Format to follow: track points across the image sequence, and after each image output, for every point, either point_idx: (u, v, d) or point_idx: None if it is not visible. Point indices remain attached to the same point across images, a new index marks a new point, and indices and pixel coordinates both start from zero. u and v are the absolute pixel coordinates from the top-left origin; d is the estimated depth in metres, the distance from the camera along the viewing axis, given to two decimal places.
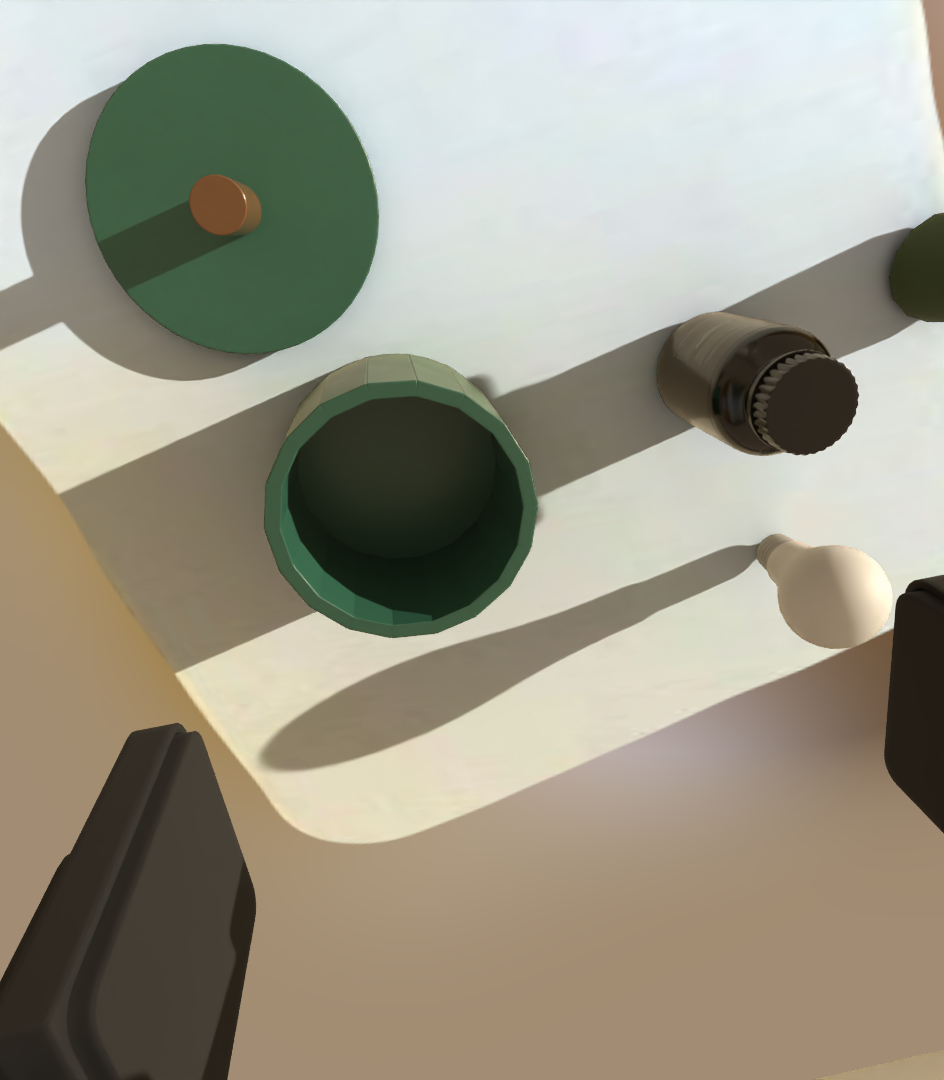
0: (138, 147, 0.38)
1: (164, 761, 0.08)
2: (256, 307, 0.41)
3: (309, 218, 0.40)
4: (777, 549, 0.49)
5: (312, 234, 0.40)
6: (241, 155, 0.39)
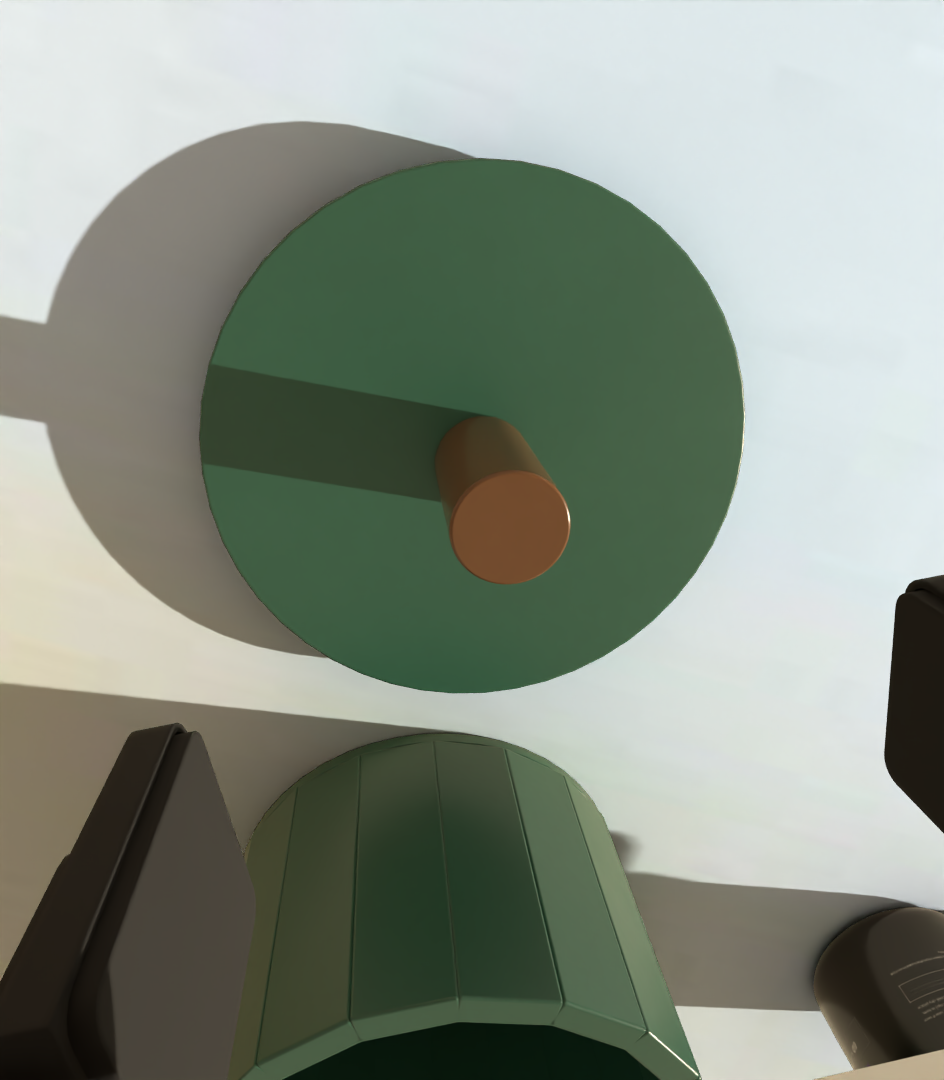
0: (400, 272, 0.18)
1: (164, 761, 0.08)
2: (401, 609, 0.22)
3: (579, 542, 0.22)
4: None
5: (566, 565, 0.22)
6: (553, 394, 0.20)
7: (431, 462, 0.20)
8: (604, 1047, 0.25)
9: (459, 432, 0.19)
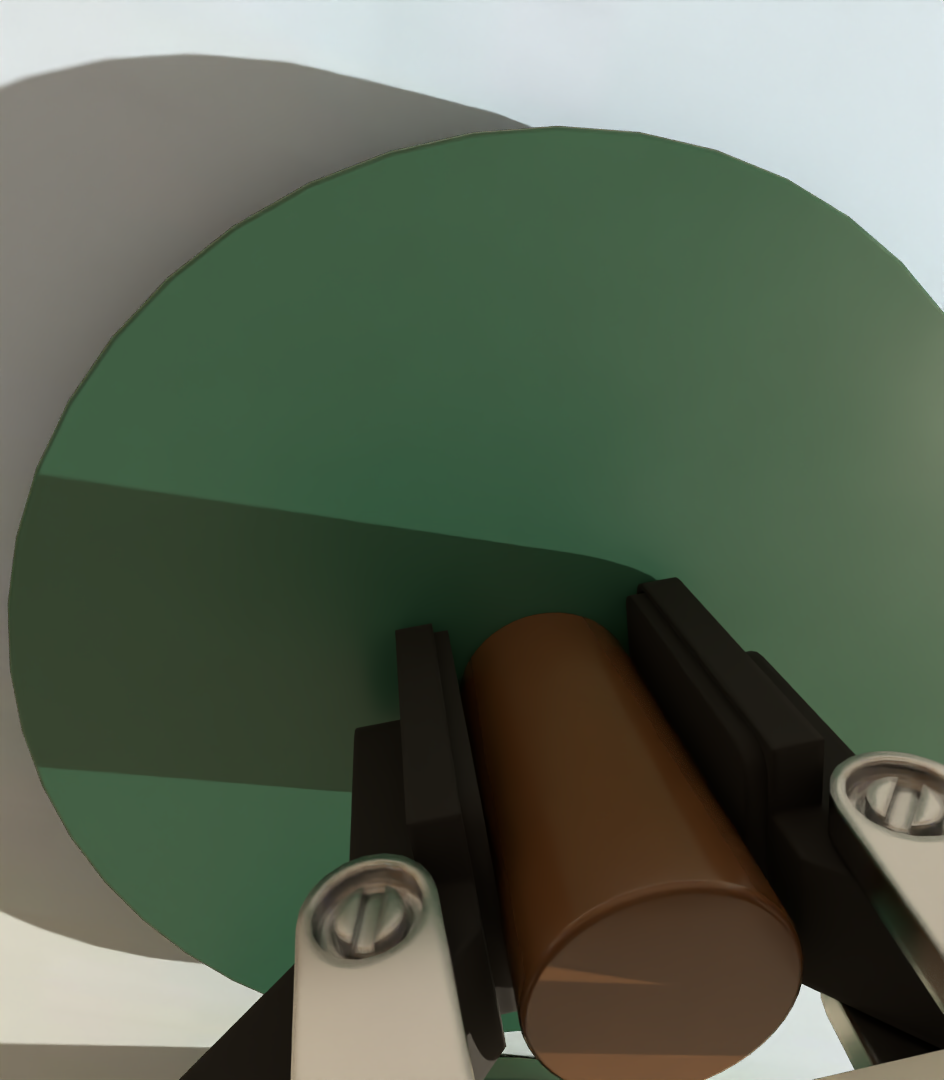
0: (394, 357, 0.09)
1: (437, 649, 0.10)
2: None
3: None
4: None
5: None
6: (679, 570, 0.11)
7: None
8: None
9: (510, 659, 0.10)
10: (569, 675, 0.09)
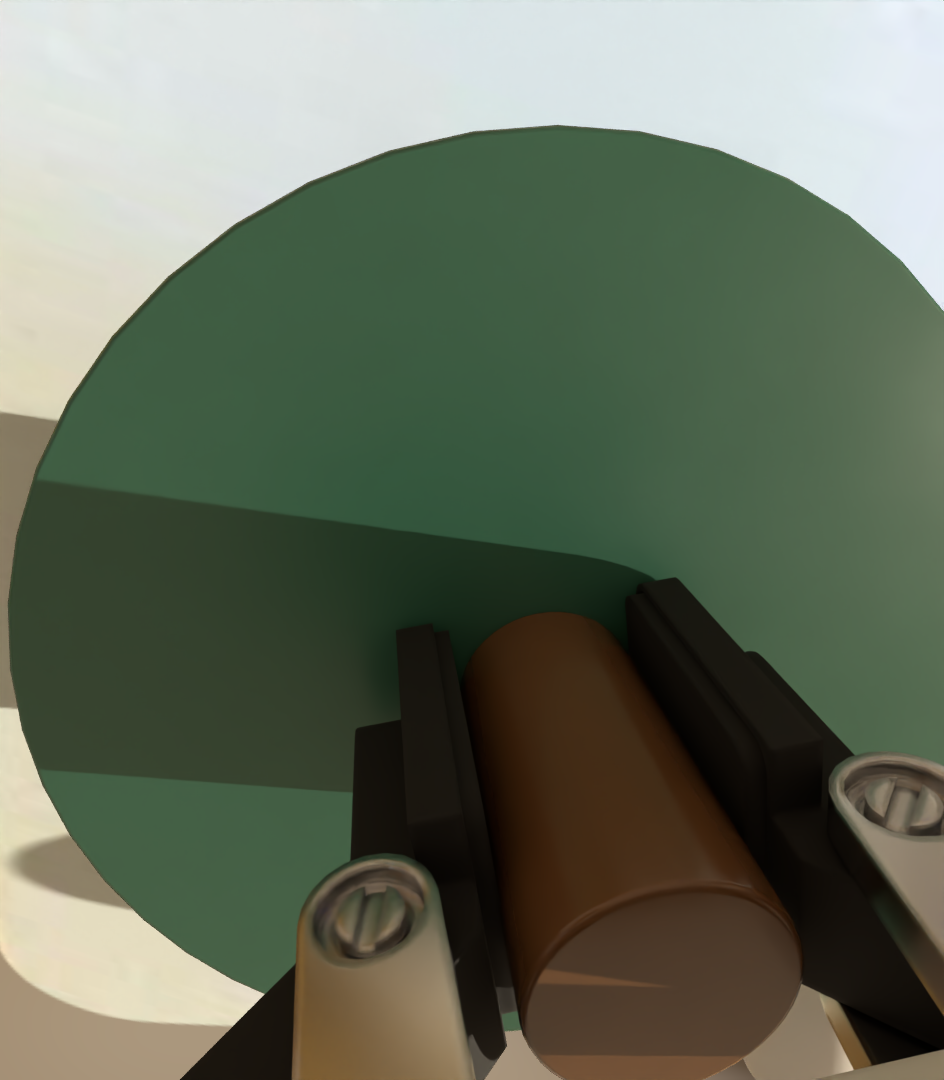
0: (393, 357, 0.09)
1: (438, 649, 0.10)
2: None
3: None
4: None
5: None
6: (680, 570, 0.11)
7: None
8: None
9: (511, 659, 0.10)
10: (569, 674, 0.09)
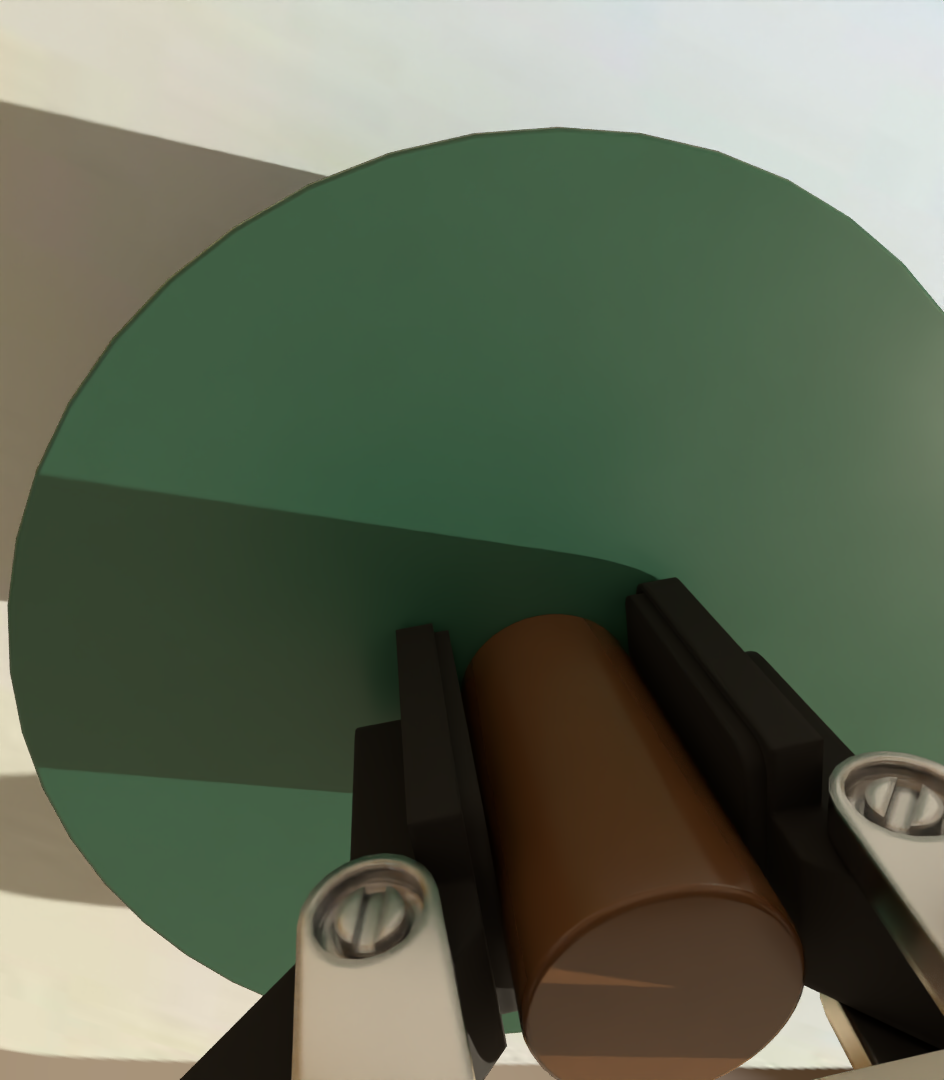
0: (393, 359, 0.09)
1: (438, 649, 0.10)
2: None
3: None
4: None
5: None
6: (681, 572, 0.11)
7: None
8: None
9: (511, 661, 0.10)
10: (570, 677, 0.09)
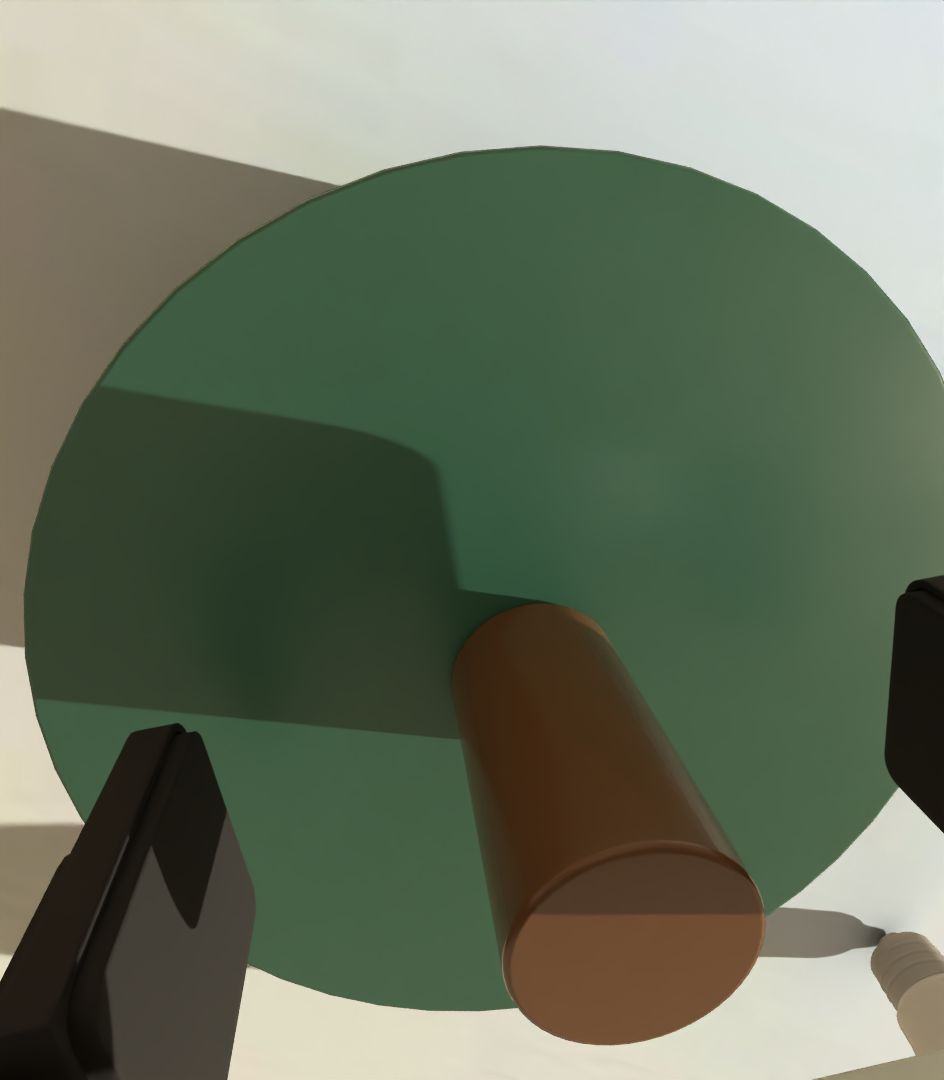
0: (387, 361, 0.10)
1: (164, 761, 0.08)
2: (394, 901, 0.13)
3: None
4: (943, 982, 0.27)
5: None
6: (660, 563, 0.11)
7: (445, 679, 0.12)
8: None
9: (499, 647, 0.10)
10: (553, 660, 0.10)
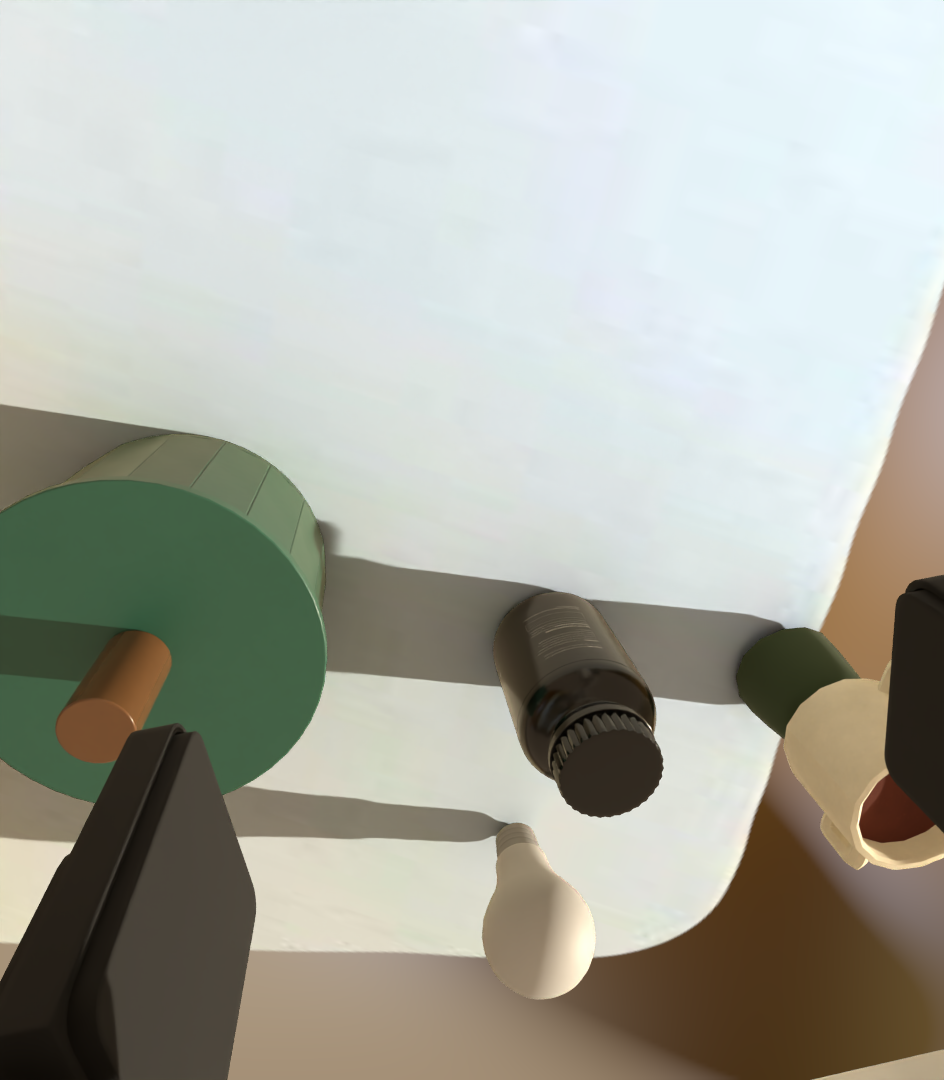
0: (57, 548, 0.28)
1: (164, 761, 0.08)
2: None
3: (219, 705, 0.31)
4: (516, 846, 0.45)
5: (212, 720, 0.31)
6: (180, 614, 0.30)
7: None
8: None
9: (106, 647, 0.29)
10: (115, 651, 0.28)
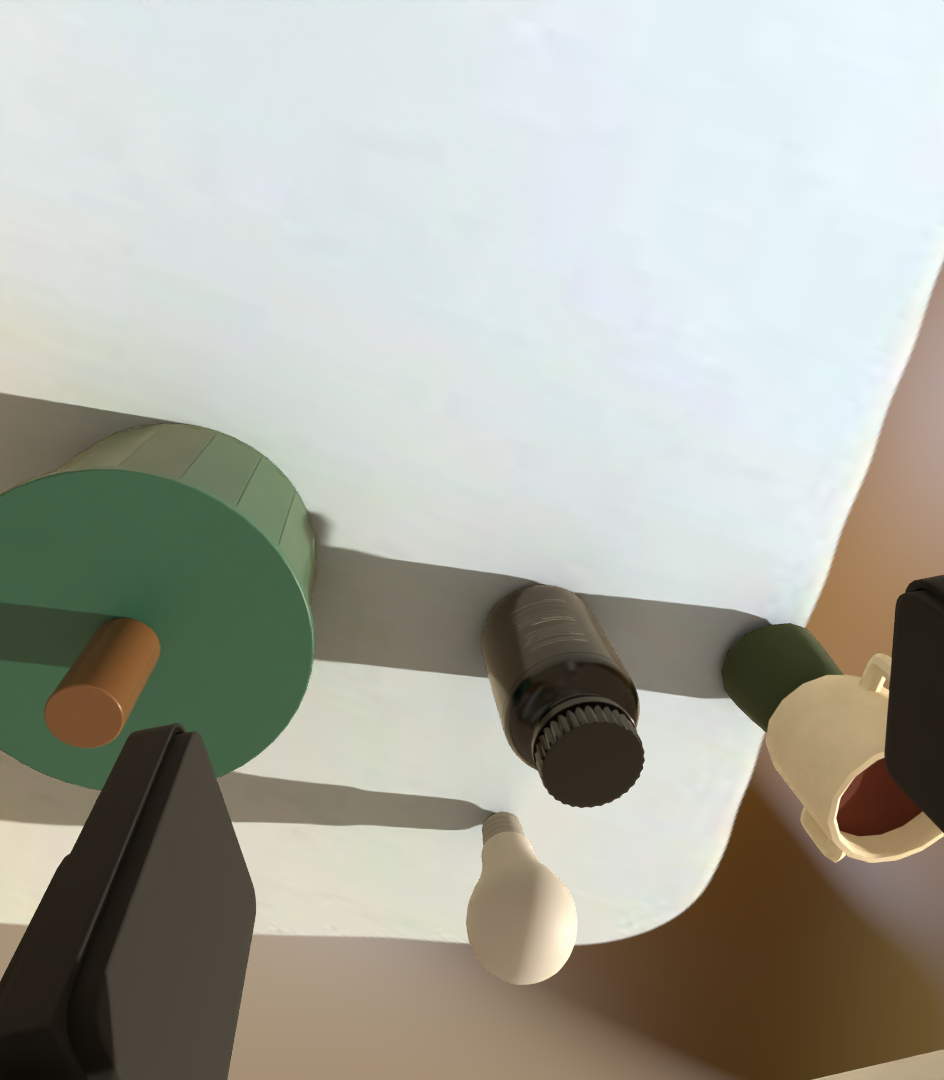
0: (48, 536, 0.28)
1: (164, 761, 0.08)
2: None
3: (207, 692, 0.32)
4: (502, 835, 0.46)
5: (201, 707, 0.32)
6: (169, 603, 0.30)
7: None
8: None
9: (96, 634, 0.29)
10: (104, 638, 0.28)
